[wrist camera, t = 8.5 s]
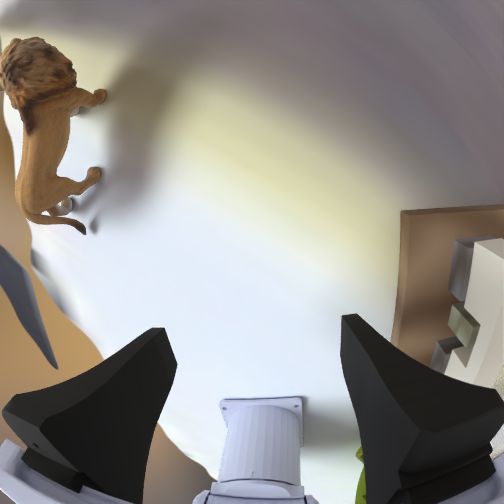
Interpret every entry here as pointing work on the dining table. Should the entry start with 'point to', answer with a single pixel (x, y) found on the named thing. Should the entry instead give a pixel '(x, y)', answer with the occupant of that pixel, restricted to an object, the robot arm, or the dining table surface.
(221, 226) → the dining table surface
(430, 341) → the brown rectangular board
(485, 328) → the cream bar
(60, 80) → the lion figurine
